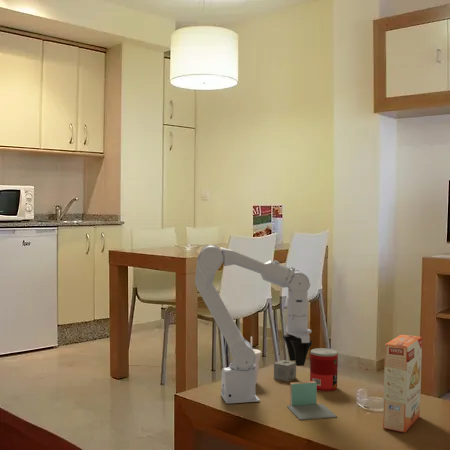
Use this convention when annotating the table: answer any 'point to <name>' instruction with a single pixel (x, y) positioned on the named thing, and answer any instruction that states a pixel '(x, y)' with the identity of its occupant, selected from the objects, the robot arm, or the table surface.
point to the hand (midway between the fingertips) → (296, 362)
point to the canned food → (324, 368)
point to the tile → (303, 393)
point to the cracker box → (402, 382)
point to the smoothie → (257, 354)
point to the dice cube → (285, 370)
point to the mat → (311, 411)
